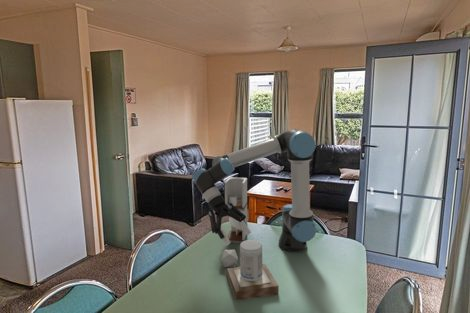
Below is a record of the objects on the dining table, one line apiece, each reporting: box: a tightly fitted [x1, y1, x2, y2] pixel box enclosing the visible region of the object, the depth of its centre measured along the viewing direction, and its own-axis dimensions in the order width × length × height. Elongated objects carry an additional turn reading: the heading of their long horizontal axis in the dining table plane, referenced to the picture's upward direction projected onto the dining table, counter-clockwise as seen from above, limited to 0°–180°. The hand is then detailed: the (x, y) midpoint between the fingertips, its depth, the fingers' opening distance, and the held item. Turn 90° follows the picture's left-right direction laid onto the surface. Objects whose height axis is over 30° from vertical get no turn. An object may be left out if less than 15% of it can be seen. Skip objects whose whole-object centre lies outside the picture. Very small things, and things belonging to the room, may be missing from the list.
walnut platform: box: [226, 263, 279, 301], centre depth 135 cm, size 18×18×4 cm
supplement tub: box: [239, 239, 263, 281], centre depth 133 cm, size 10×10×15 cm
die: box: [220, 249, 239, 268], centre depth 150 cm, size 8×9×10 cm
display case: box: [224, 176, 248, 244], centre depth 178 cm, size 11×11×35 cm
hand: (239, 239), depth 136 cm, fingers open, 13 cm apart
